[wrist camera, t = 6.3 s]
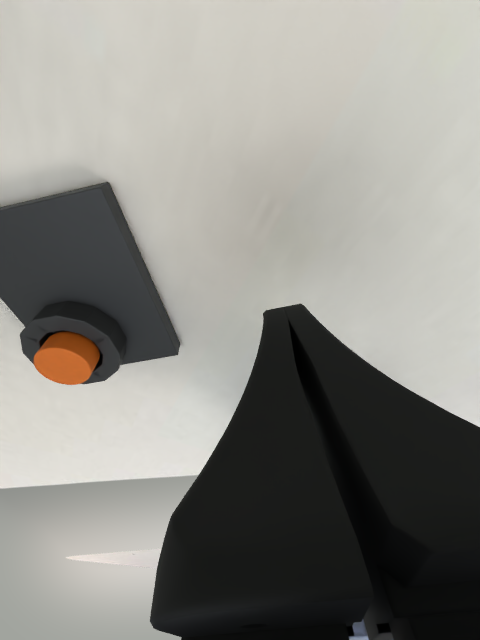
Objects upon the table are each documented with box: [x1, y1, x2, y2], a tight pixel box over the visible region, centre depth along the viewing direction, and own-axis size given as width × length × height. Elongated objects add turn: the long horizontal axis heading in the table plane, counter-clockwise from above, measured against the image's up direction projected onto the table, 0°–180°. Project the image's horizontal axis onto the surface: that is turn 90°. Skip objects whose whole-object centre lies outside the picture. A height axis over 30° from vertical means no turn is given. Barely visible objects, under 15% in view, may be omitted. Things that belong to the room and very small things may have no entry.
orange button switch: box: [0, 182, 180, 384], centre depth 19 cm, size 13×10×3 cm
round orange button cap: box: [34, 331, 100, 385], centre depth 19 cm, size 4×4×2 cm
